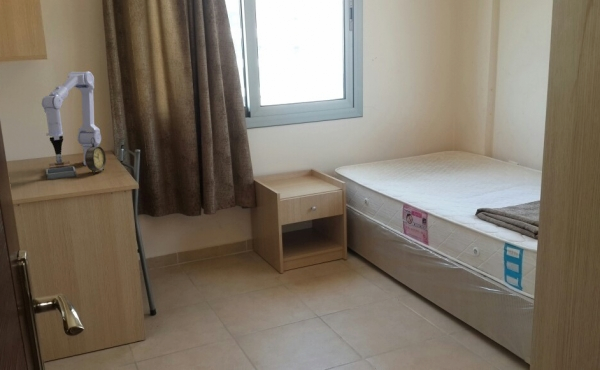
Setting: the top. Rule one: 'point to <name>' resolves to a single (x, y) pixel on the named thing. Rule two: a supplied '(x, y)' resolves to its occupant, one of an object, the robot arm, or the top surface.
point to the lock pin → (58, 158)
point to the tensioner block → (59, 165)
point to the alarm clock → (95, 158)
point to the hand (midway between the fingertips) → (58, 153)
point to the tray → (60, 173)
